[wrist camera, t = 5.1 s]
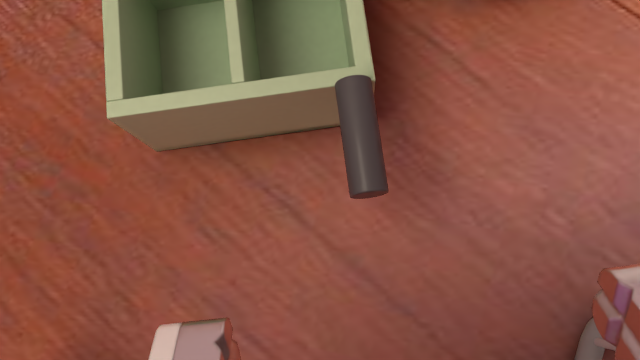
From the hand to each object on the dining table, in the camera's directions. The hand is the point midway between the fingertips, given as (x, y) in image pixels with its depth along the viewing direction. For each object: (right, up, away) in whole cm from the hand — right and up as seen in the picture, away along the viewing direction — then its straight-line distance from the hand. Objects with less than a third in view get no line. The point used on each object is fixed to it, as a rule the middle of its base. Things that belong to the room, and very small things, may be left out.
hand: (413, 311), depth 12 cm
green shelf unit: (-12, +7, +15) cm, 20 cm away
